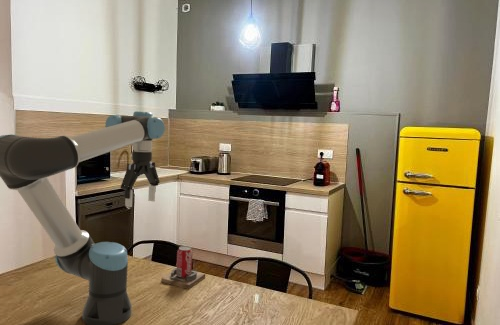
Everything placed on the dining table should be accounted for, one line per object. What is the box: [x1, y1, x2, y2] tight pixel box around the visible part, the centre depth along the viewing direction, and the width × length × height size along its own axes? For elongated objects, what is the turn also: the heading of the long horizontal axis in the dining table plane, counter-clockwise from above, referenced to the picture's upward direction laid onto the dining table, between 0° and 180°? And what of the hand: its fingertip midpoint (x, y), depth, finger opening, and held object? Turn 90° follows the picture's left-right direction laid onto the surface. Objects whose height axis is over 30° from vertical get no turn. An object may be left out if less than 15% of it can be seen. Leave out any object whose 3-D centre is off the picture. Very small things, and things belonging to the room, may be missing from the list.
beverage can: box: [176, 245, 193, 278], centre depth 153 cm, size 6×6×12 cm
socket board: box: [161, 267, 206, 290], centre depth 154 cm, size 13×13×3 cm
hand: (140, 203), depth 148 cm, fingers open, 13 cm apart
